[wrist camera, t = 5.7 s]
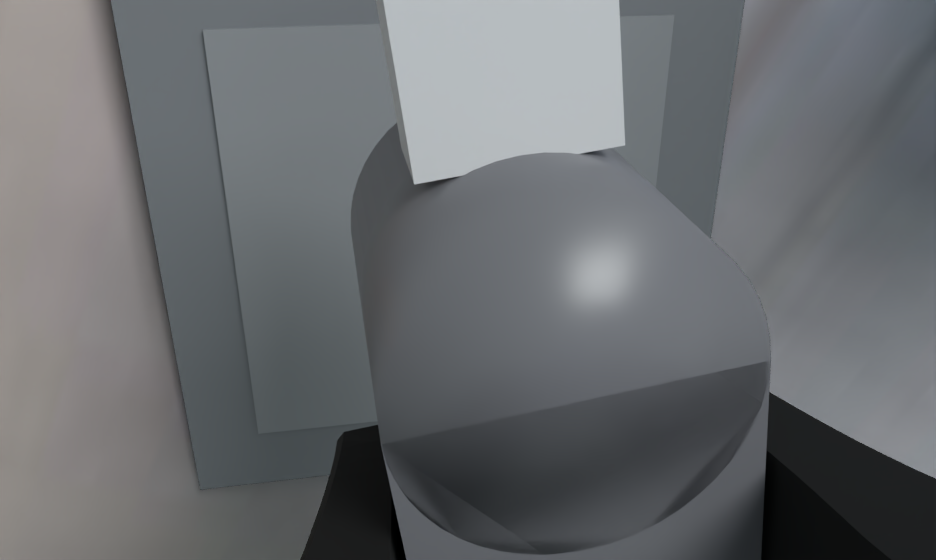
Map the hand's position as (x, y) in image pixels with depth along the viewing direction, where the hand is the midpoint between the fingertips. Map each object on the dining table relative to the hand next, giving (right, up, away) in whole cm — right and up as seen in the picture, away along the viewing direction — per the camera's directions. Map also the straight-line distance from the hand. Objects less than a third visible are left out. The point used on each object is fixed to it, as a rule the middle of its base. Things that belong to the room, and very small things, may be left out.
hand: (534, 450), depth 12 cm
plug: (0, +2, +1) cm, 2 cm away
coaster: (-1, +3, +7) cm, 8 cm away
